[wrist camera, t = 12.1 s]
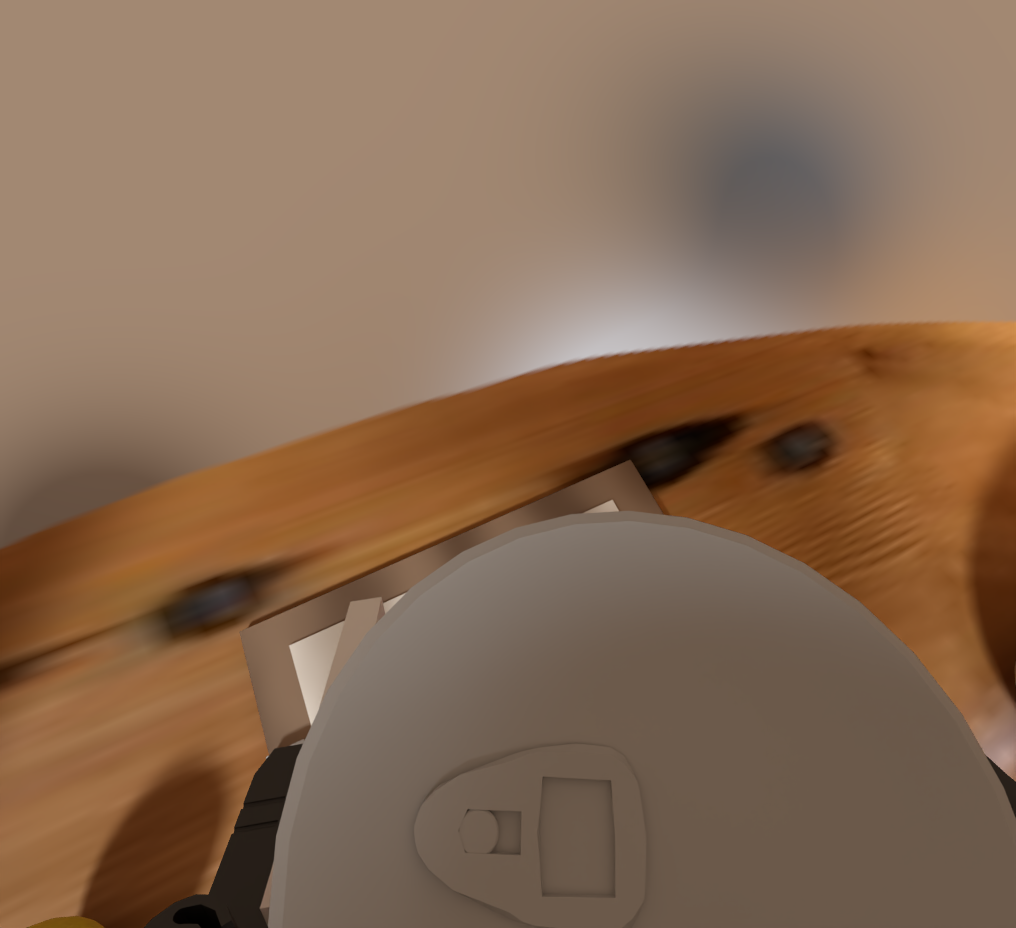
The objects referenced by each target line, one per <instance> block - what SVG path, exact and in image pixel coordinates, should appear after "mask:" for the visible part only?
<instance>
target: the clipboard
mask: <svg viewBox="0 0 1016 928" xmlns="http://www.w3.org/2000/svg"><path fill="white" fill-rule="evenodd" d="M617 511H635V512H644V513H652V514H660V515H664V514H663V513H662V511H661V509H660V508H659V506H658V504H657V503H656V501H655V499H654V498H653V496H652V494H651V493H650V491H649V489H648V488H647V486H646V484H645V483H644V481H643V479H642V478H641V476H640V474H639V473H638V471H637V469H636V468H635V466H634V464H633V463H632V461H631V460H628V461H626V462H624V463H621V464H619V465H617V466H615V467H612V468H610V469H608V470H605V471H603V472H601V473H599V474H596V475H594V476H592V477H590V478H587V479H585V480H583V481H580V482H578V483H576V484H574V485H571V486H569V487H567V488H565V489H562V490H560V491H558V492H556V493H553V494H551V495H549V496H546V497H544V498H542V499H540V500H537V501H535V502H533V503H531V504H528V505H526V506H524V507H521V508H519V509H517V510H515V511H512V512H510V513H508V514H506V515H503V516H501V517H499V518H497V519H494V520H492V521H490V522H487V523H485V524H483V525H481V526H478V527H476V528H474V529H472V530H469V531H467V532H465V533H462V534H460V535H458V536H456V537H453V538H451V539H449V540H447V541H444V542H442V543H440V544H438V545H435V546H433V547H431V548H428V549H426V550H424V551H422V552H419V553H417V554H415V555H413V556H410V557H408V558H406V559H403V560H401V561H399V562H397V563H394V564H392V565H390V566H388V567H385V568H383V569H381V570H378V571H376V572H374V573H372V574H369V575H367V576H365V577H363V578H360V579H358V580H356V581H354V582H351V583H349V584H347V585H344V586H342V587H340V588H338V589H335V590H333V591H331V592H329V593H326V594H324V595H322V596H319V597H317V598H315V599H313V600H310V601H308V602H306V603H304V604H301V605H299V606H297V607H295V608H292V609H290V610H288V611H285V612H283V613H281V614H279V615H276V616H274V617H272V618H270V619H267V620H265V621H263V622H260V623H258V624H256V625H254V626H251V627H249V628H247V629H245V630H242V631H240V636H241V640H242V644H243V648H244V653H245V657H246V661H247V665H248V669H249V673H250V677H251V682H252V686H253V690H254V694H255V698H256V702H257V706H258V711H259V715H260V719H261V723H262V727H263V731H264V735H265V740H266V744H267V748H268V752H269V755H270V754H271V753H272V751H273V750H274V749H275V748H280V747H286V746H292V745H298V744H303V743H304V741H305V739H306V737H307V734H308V732H309V730H310V728H311V726H312V723H313V721H314V719H315V717H316V715H317V712H318V710H319V707H320V703H321V700H322V696H323V693H324V690H325V686H326V683H327V679H328V676H329V673H330V669H331V666H332V663H333V659H334V656H335V652H336V649H337V646H338V642H339V639H340V635H341V632H342V629H343V625H344V622H345V618H346V615H347V612H348V608H349V605H350V602H352V601H359V600H365V599H371V598H378V597H382V601H383V605H384V609H385V614H386V613H387V612H388V611H389V610H390V609H391V608H392V607H393V606H394V605H395V604H396V603H397V602H398V601H399V600H400V599H401V598H402V597H403V596H404V595H405V594H406V593H407V591H408V590H409V589H410V588H411V587H413V586H414V585H416V584H417V583H418V582H420V581H421V580H423V579H424V578H426V577H427V576H428V575H430V574H431V573H433V572H434V571H436V570H437V569H438V568H440V567H441V566H443V565H444V564H446V563H447V562H448V561H450V560H451V559H453V558H454V557H456V556H457V555H458V554H460V553H461V552H463V551H465V550H468V549H470V548H472V547H474V546H476V545H479V544H481V543H483V542H485V541H487V540H490V539H492V538H494V537H496V536H498V535H501V534H503V533H505V532H507V531H510V530H512V529H514V528H517V527H521V526H525V525H529V524H533V523H537V522H541V521H545V520H549V519H554V518H558V517H562V516H566V515H570V514H582V513H599V512H617ZM267 758H268V756H267V757H266V759H267Z"/></svg>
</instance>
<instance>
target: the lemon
mask: <svg viewBox="0 0 1016 928" xmlns="http://www.w3.org/2000/svg"><path fill="white" fill-rule="evenodd" d="M27 928H105V927H103V926H102V925H101V924H99V923H98V922H96V921H95V920H92V919H88V918H84V917H79V916H72V917H59V918H53V919H49V920H46V921H43V922H41V923H38V924H35V925H32V926H30V927H27Z"/></svg>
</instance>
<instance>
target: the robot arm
mask: <svg viewBox="0 0 1016 928" xmlns="http://www.w3.org/2000/svg"><path fill="white" fill-rule="evenodd" d="M384 615H385V609H384V605H383V601H382V597H378V598H371V599H365V600H359V601H352V602H350V605H349V608H348V612H347V615H346V618H345V622H344V625H343V629H342V632H341V635H340V639H339V642H338V646H337V649H336V652H335V656H334V659H333V663H332V666H331V669H330V673H329V676H328V679H327V683H326V686H325V690H324V693H323V696H322V700H321V703H320V706H321V704H322V701H323V699H324V697H325V695H326V693H327V690H328V689H329V687H330V686H331V684H332V683H333V681H334V680H335V679H336V677H337V676H338V674H339V673H340V671H341V670H342V668H343V667H344V665H345V664H346V662H347V661H348V660H349V658H350V657H351V655H352V654H353V652H354V651H355V649H356V648H357V646H358V645H359V643H360V642H361V641H362V639H363V638H364V636H365V635H366V633H367V632H368V631H369V630H370V629H371V628H372V627H373V626H374V625H375V624H376V623H377V622H378V621H379V620H380V619H381V618H382V617H383V616H384ZM319 708H320V707H319ZM302 745H303V744H298V745H292V746H286V747H280V748H275V749H274V750H273V751H272V753H271V754H270V755H269V756H268V758H267V759H266V760H265V762H264V763H263V764H262V766H261V767H260V768H259V769H258V771H257V772H256V773H255V775H254V777H253V780H252V782H251V785H250V788H249V790H248V793H247V796H246V798H245V801H244V803H243V804H244V807H243V809H241V811H240V814H239V816H238V819H237V822H236V824H235V827H234V834H232V835H231V837H230V840H229V842H228V845H227V848H226V850H225V853H224V856H223V858H222V861H221V863H220V866H219V869H218V871H217V874H216V876H215V879H214V882H213V884H212V887H211V889H210V892H209V895H197V894H196V895H193V896H191V897H188V898H185V899H183V900H180V901H178V902H175V903H173V904H172V905H171V906H169V907H168V908H166V909H165V910H164V911H162V912H161V913H159V914H158V915H157V916H155V917H154V918H153V919H151V921H150V922H149V923H148V924H147V925H146V926H145V927H144V928H268V919H269V908H270V897H271V886H272V875H273V865H274V854H275V843H276V835H277V831H278V827H279V824H280V820H281V816H282V812H283V808H284V805H285V801H286V797H287V793H288V790H289V786H290V782H291V778H292V774H293V771H294V767H295V763H296V759H297V756H298V754H299V752H300V750H301V748H302ZM986 757H987V756H986ZM987 759H988V761H989V763H990V764H991V766H992V768H993V770H994V771H995V773H996V775H997V777H998V778H999V780H1000V782H1001V784H1002V785H1003V787H1004V790H1005V792H1006V795H1007V797H1008V800H1009V802H1010V805H1011V808H1012V810H1013V813H1014V815H1015V818H1016V782H1015V781H1014V780H1013V779H1012V778H1010V777H1009V776H1008V775H1007V774H1006V773H1005V772H1003V771H1002V770H1001V769H1000V768H999V767H998V766H997V765H996V764H995V763H994V762H993V761H992V760H990V759H989V758H988V757H987Z"/></svg>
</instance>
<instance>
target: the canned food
mask: <svg viewBox="0 0 1016 928" xmlns="http://www.w3.org/2000/svg"><path fill="white" fill-rule="evenodd" d="M268 928H1016V818H1015V815H1014V813H1013V810H1012V808H1011V805H1010V802H1009V800H1008V797H1007V795H1006V792H1005V790H1004V787H1003V785H1002V784H1001V782H1000V780H999V778H998V777H997V775H996V773H995V771H994V770H993V768H992V766H991V764H990V763H989V761H988V759H987V757H986V755H985V754H984V752H983V750H982V748H981V747H980V745H979V743H978V741H977V740H976V738H975V736H974V734H973V733H972V731H971V729H970V727H969V726H968V724H967V722H966V720H965V719H964V717H963V715H962V714H961V712H960V711H959V710H958V709H957V707H956V706H955V705H954V703H953V702H952V701H951V700H950V698H949V697H948V696H947V695H946V693H945V692H944V691H943V689H942V688H941V687H940V686H939V684H938V683H937V682H936V680H935V679H934V678H933V677H932V675H931V674H930V673H929V672H928V670H927V669H926V668H925V666H924V665H923V664H922V663H921V661H920V660H919V659H918V657H917V656H916V655H915V654H914V652H912V651H911V650H910V649H909V648H908V647H907V646H906V645H905V644H904V643H903V642H902V641H901V640H900V639H899V638H898V637H897V636H896V635H895V634H893V633H892V632H891V631H890V630H889V629H888V628H887V627H886V626H885V625H884V624H883V623H882V622H881V621H880V620H879V619H878V618H877V617H876V616H874V615H873V614H872V613H871V612H870V611H869V610H868V609H867V608H866V607H865V606H864V605H863V604H862V603H861V602H859V601H858V600H857V599H855V598H854V597H852V596H851V595H849V594H848V593H846V592H845V591H844V590H842V589H841V588H839V587H838V586H836V585H835V584H834V583H832V582H831V581H829V580H828V579H826V578H825V577H823V576H822V575H821V574H819V573H818V572H816V571H815V570H813V569H812V568H811V567H809V566H808V565H806V564H805V563H803V562H801V561H799V560H797V559H795V558H792V557H790V556H788V555H786V554H784V553H782V552H780V551H778V550H776V549H774V548H772V547H770V546H768V545H766V544H764V543H762V542H759V541H757V540H755V539H753V538H751V537H749V536H747V535H744V534H741V533H737V532H734V531H731V530H727V529H724V528H721V527H717V526H714V525H710V524H707V523H704V522H700V521H697V520H694V519H690V518H686V517H677V516H669V515H660V514H652V513H644V512H635V511H617V512H599V513H582V514H570V515H566V516H562V517H558V518H554V519H549V520H545V521H541V522H537V523H533V524H529V525H525V526H521V527H517V528H514V529H512V530H510V531H507V532H505V533H503V534H501V535H498V536H496V537H494V538H492V539H490V540H487V541H485V542H483V543H481V544H479V545H476V546H474V547H472V548H470V549H468V550H465V551H463V552H461V553H460V554H458V555H457V556H456V557H454V558H453V559H451V560H450V561H448V562H447V563H446V564H444V565H443V566H441V567H440V568H438V569H437V570H436V571H434V572H433V573H431V574H430V575H428V576H427V577H426V578H424V579H423V580H421V581H420V582H418V583H417V584H416V585H414V586H413V587H411V588H410V589H409V590H408V591H407V593H406V594H405V595H404V596H403V597H402V598H401V599H400V600H399V601H398V602H397V603H396V604H395V605H394V606H393V607H392V608H391V609H390V610H389V611H388V612H387V613H386V614H385V615H384V616H383V617H382V618H381V619H380V620H379V621H378V622H377V623H376V624H375V625H374V626H373V627H372V628H371V629H370V630H369V631H368V632H367V633H366V635H365V636H364V638H363V639H362V641H361V642H360V643H359V645H358V646H357V648H356V649H355V651H354V652H353V654H352V655H351V657H350V658H349V660H348V661H347V662H346V664H345V665H344V667H343V668H342V670H341V671H340V673H339V674H338V676H337V677H336V679H335V680H334V681H333V683H332V684H331V686H330V687H329V689H328V690H327V693H326V695H325V697H324V699H323V701H322V704H321V706H320V708H319V710H318V712H317V715H316V717H315V719H314V721H313V723H312V726H311V728H310V730H309V732H308V734H307V737H306V739H305V741H304V743H303V745H302V748H301V750H300V752H299V754H298V756H297V759H296V763H295V767H294V771H293V774H292V778H291V782H290V786H289V790H288V793H287V797H286V801H285V805H284V808H283V812H282V816H281V820H280V824H279V827H278V831H277V835H276V843H275V854H274V865H273V875H272V886H271V897H270V908H269V919H268Z"/></svg>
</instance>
